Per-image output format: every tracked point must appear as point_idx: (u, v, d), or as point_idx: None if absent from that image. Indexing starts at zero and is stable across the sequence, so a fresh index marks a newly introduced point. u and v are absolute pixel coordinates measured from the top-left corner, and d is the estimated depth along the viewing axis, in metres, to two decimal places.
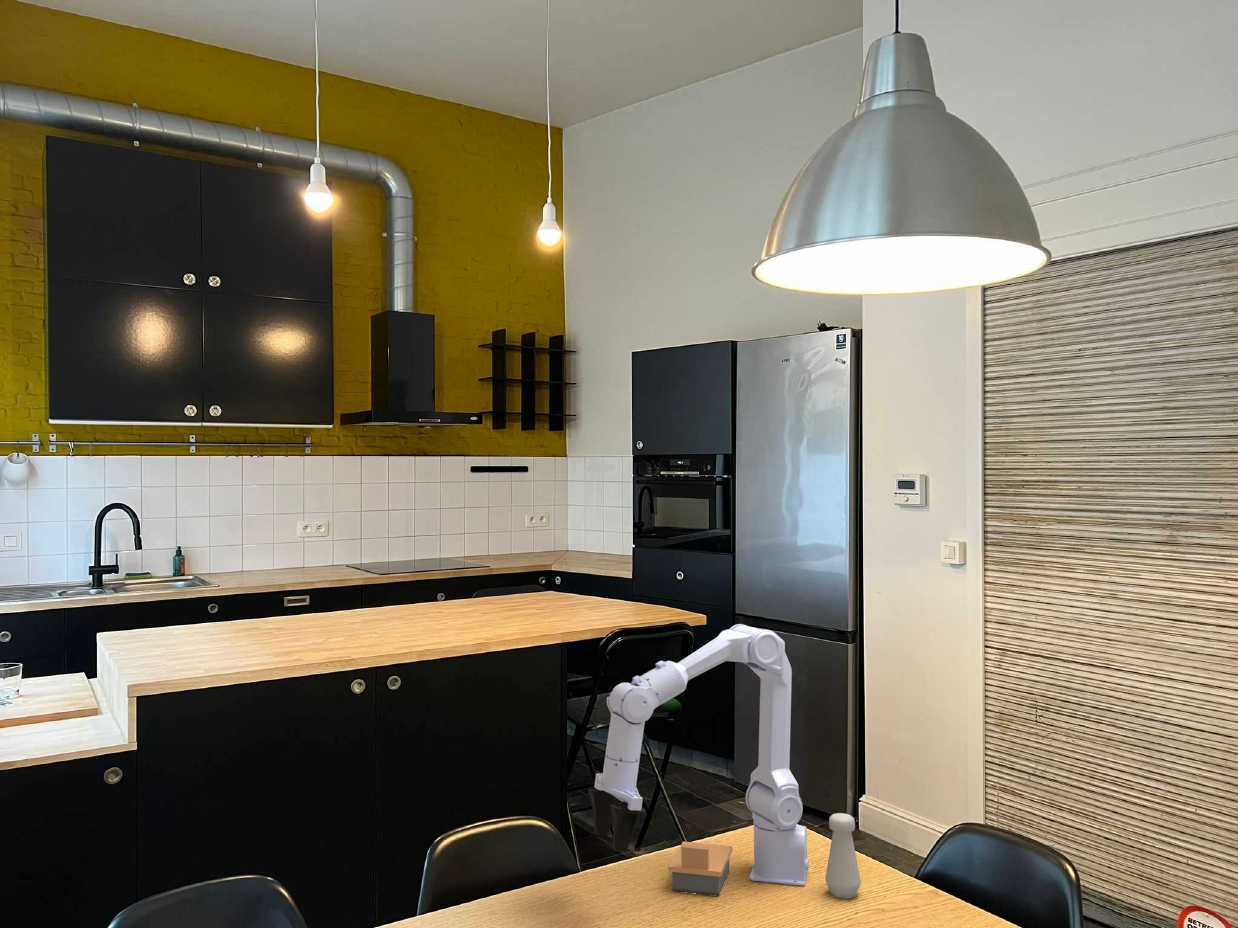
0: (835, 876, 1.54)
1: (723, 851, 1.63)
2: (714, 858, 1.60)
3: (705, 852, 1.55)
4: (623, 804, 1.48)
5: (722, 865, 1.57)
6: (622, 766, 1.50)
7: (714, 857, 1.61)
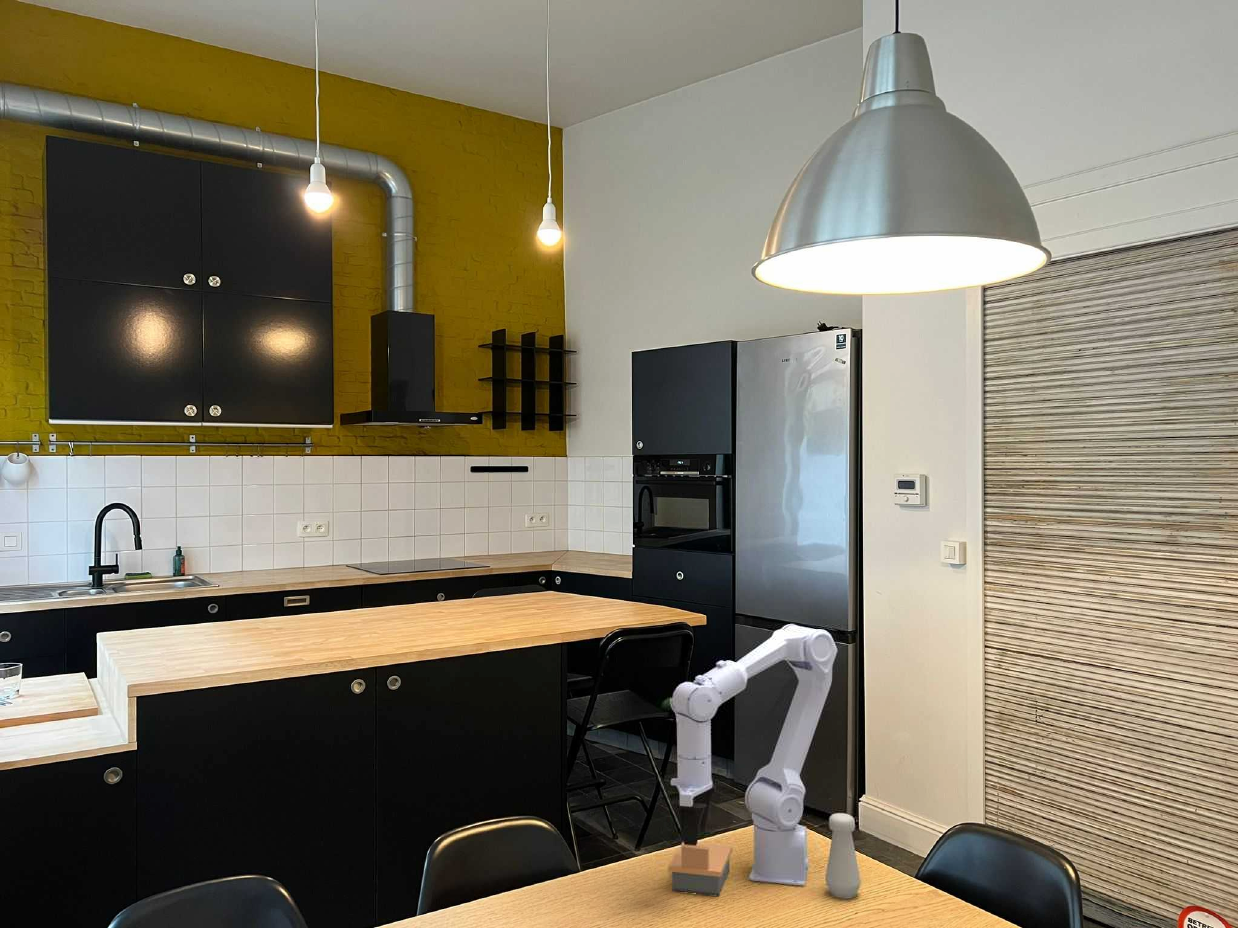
0: (835, 876, 1.54)
1: (723, 851, 1.63)
2: (714, 858, 1.60)
3: (705, 852, 1.55)
4: None
5: (722, 865, 1.57)
6: (684, 763, 1.55)
7: (714, 857, 1.61)
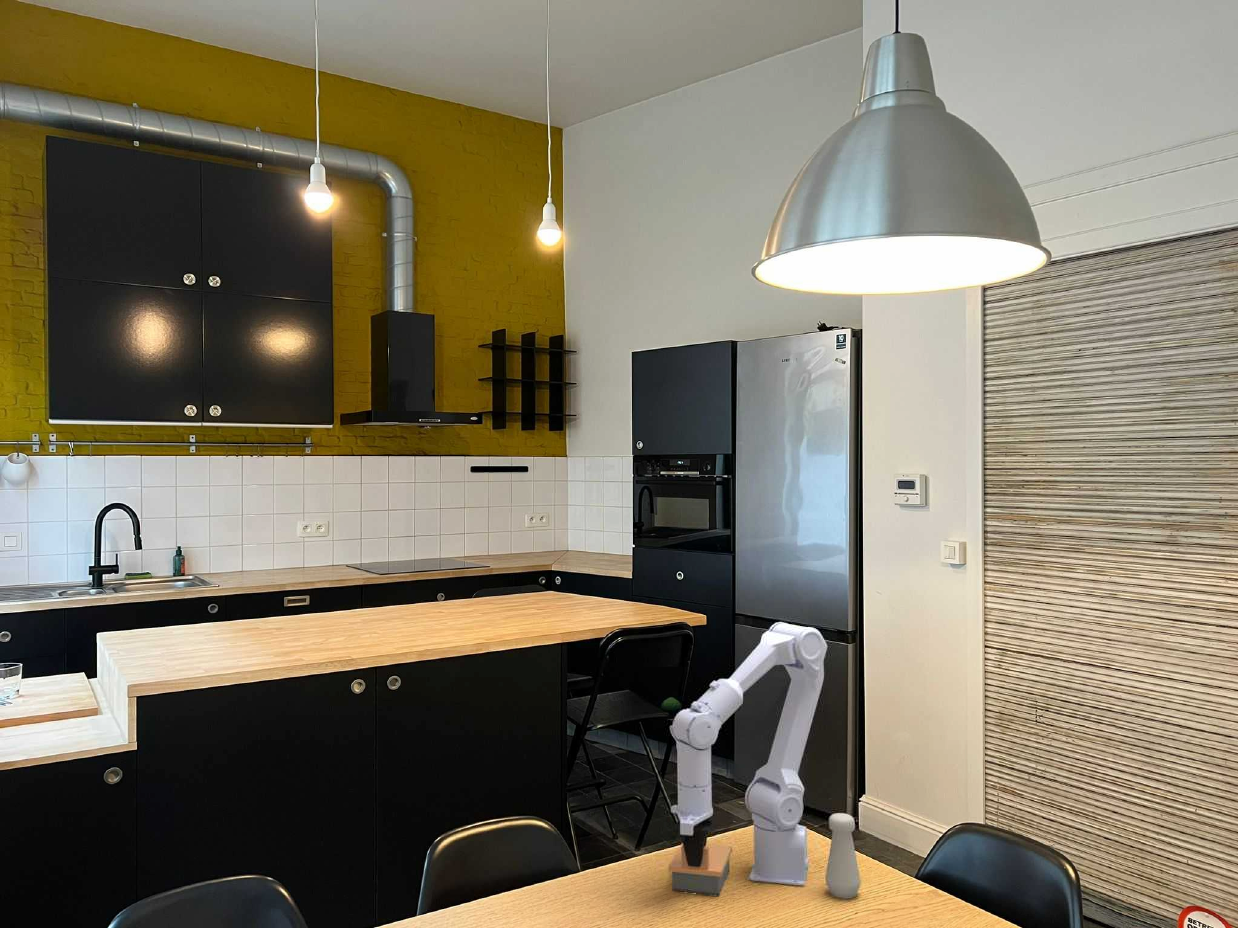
0: (835, 876, 1.54)
1: (723, 851, 1.63)
2: (714, 858, 1.60)
3: (705, 852, 1.55)
4: None
5: (722, 865, 1.57)
6: (685, 791, 1.55)
7: (714, 857, 1.61)
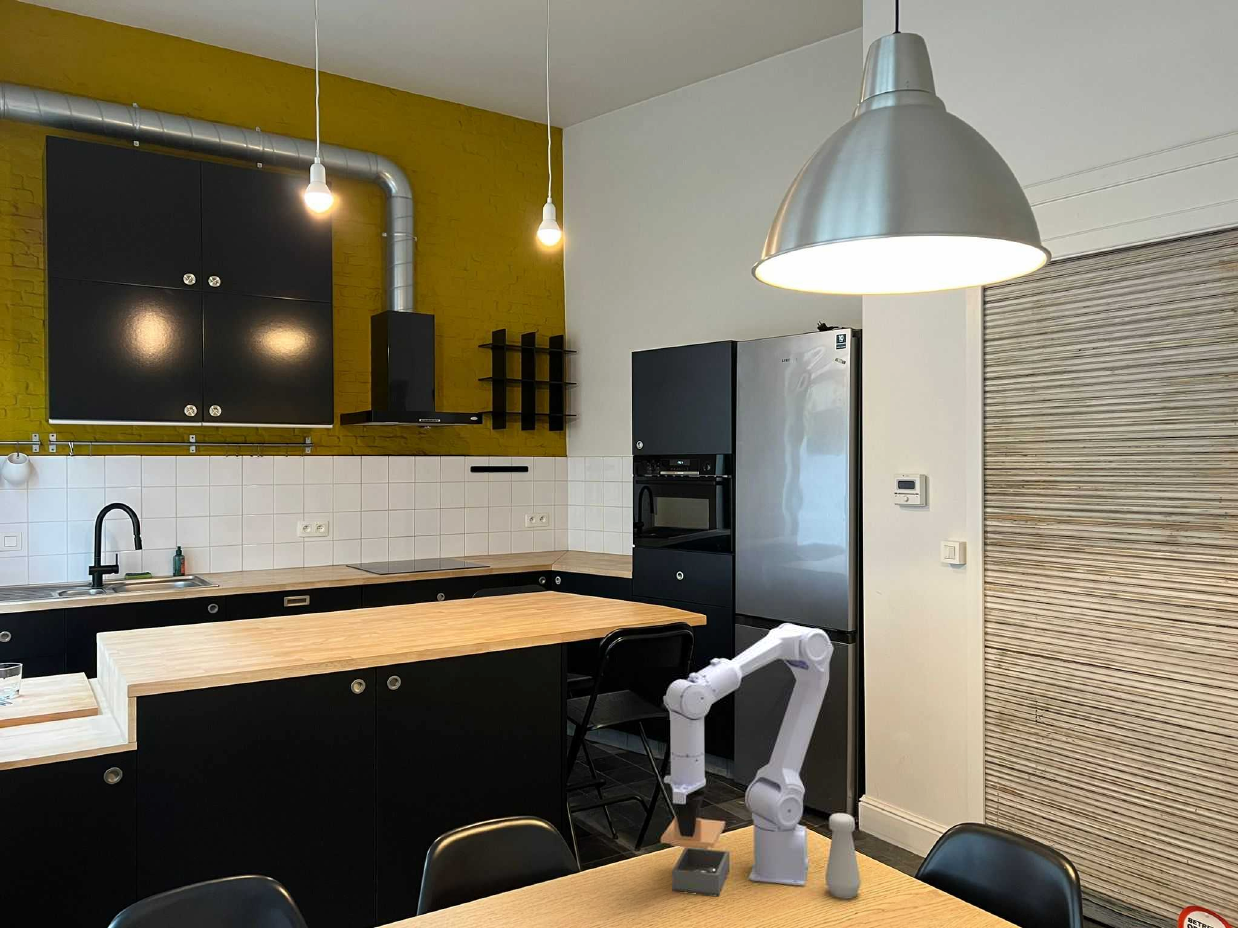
0: (835, 876, 1.54)
1: (716, 825, 1.63)
2: (707, 831, 1.60)
3: (698, 823, 1.55)
4: None
5: (714, 837, 1.57)
6: (678, 760, 1.55)
7: (707, 830, 1.61)
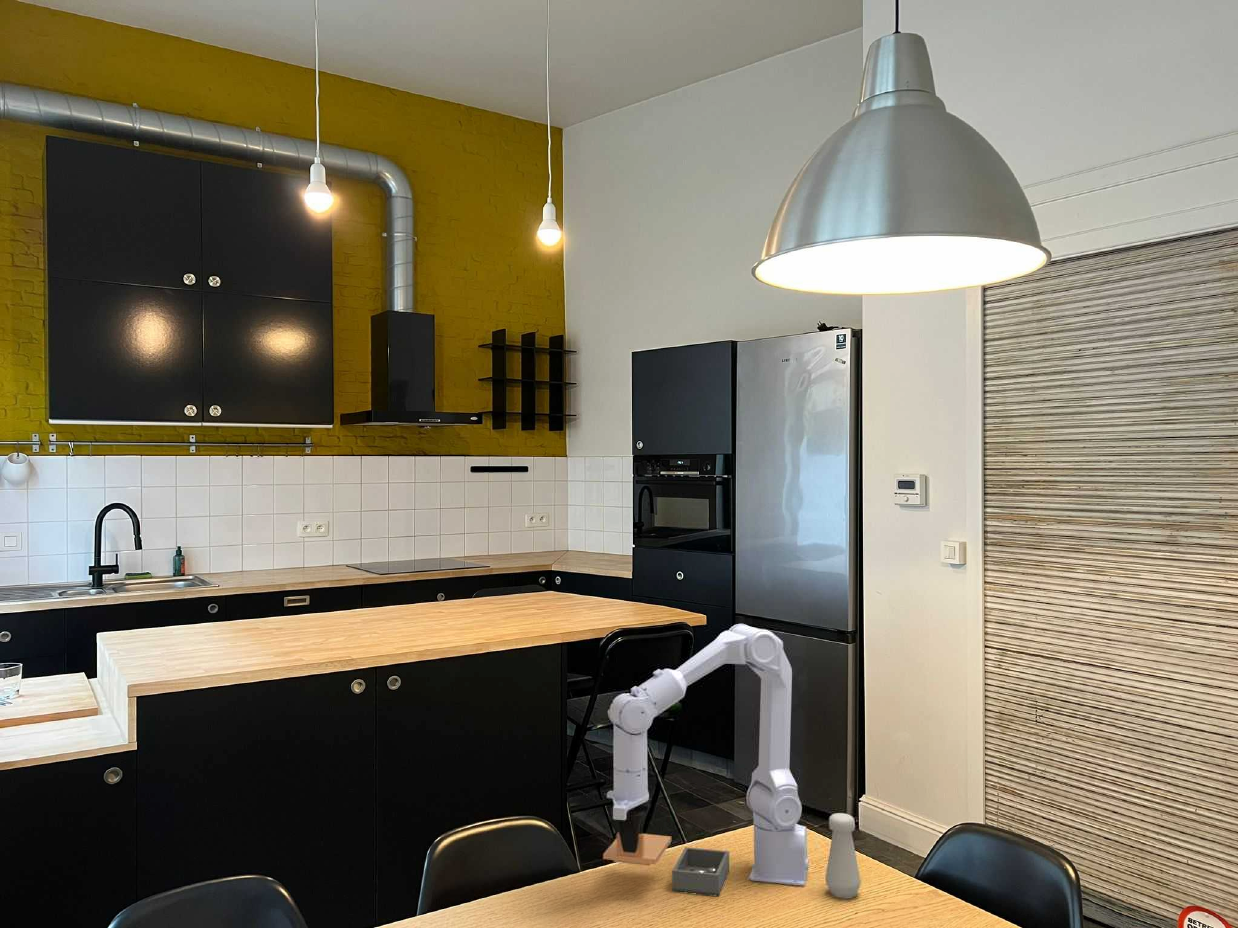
0: (835, 876, 1.54)
1: (661, 841, 1.62)
2: (651, 847, 1.59)
3: (640, 839, 1.54)
4: None
5: (658, 853, 1.56)
6: (620, 776, 1.53)
7: (651, 846, 1.59)
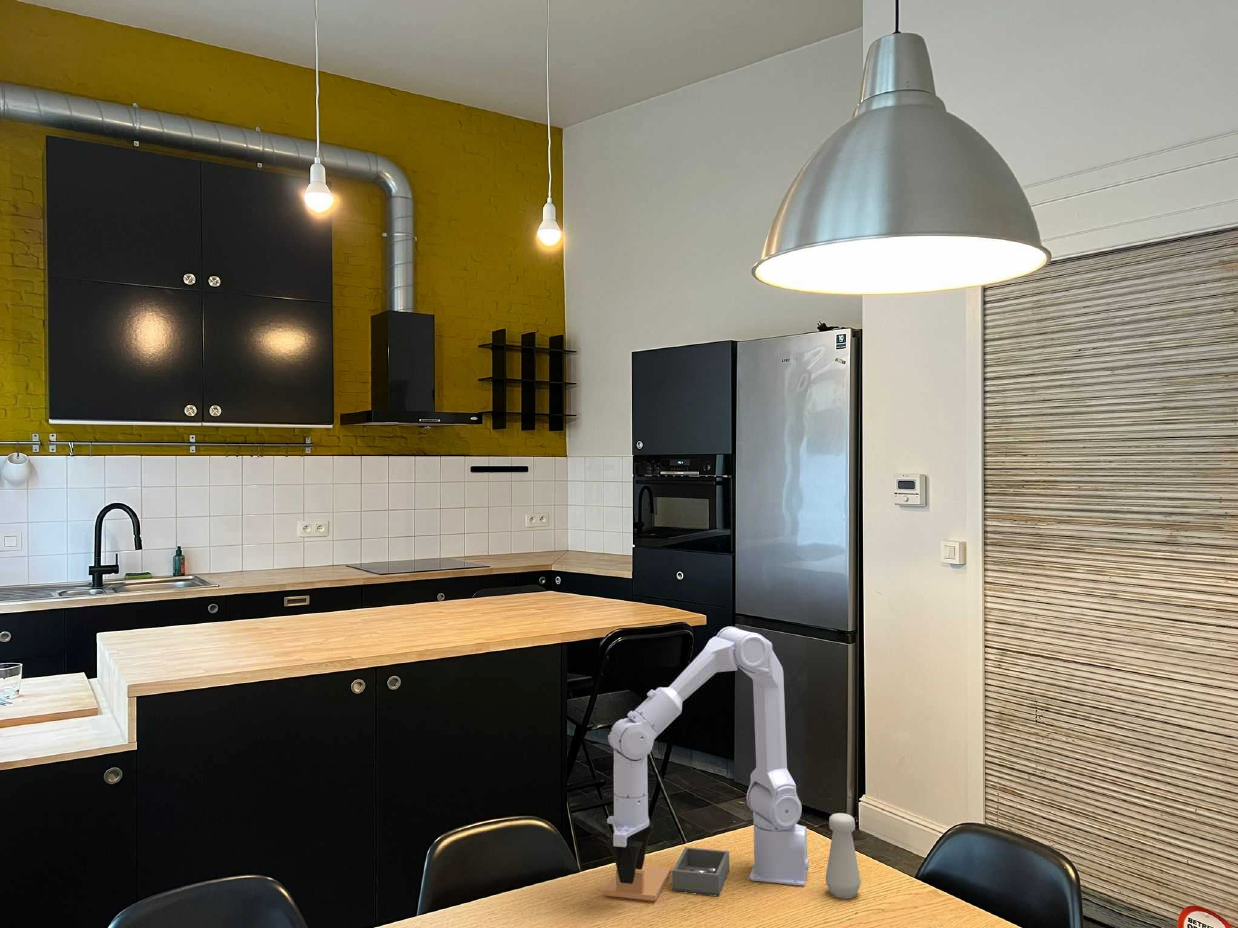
0: (835, 876, 1.54)
1: (661, 873, 1.61)
2: (651, 881, 1.58)
3: (639, 876, 1.53)
4: None
5: (657, 888, 1.55)
6: (620, 801, 1.53)
7: (651, 880, 1.59)
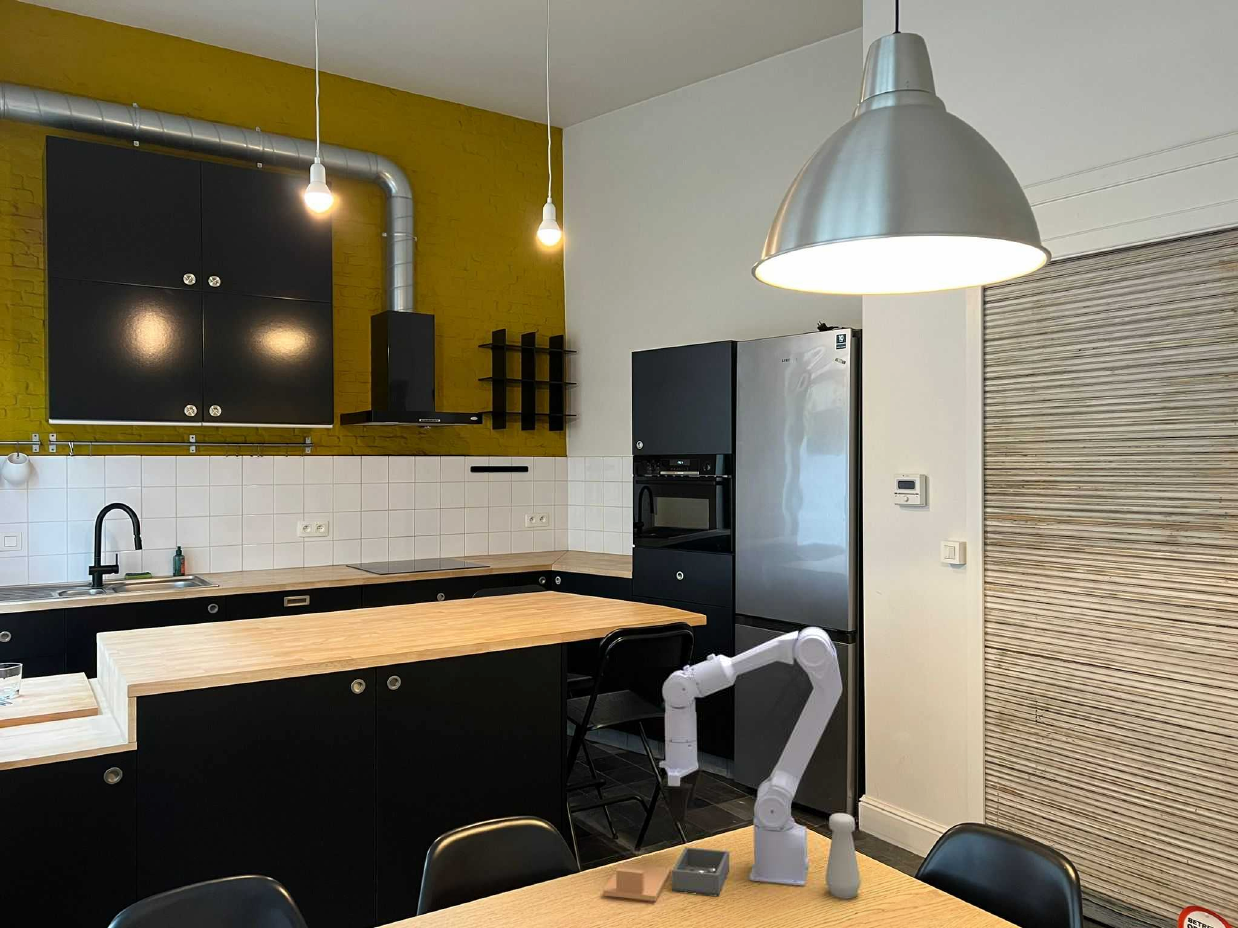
0: (835, 876, 1.54)
1: (661, 873, 1.61)
2: (651, 881, 1.58)
3: (640, 876, 1.53)
4: None
5: (658, 889, 1.55)
6: (672, 746, 1.66)
7: (651, 880, 1.58)
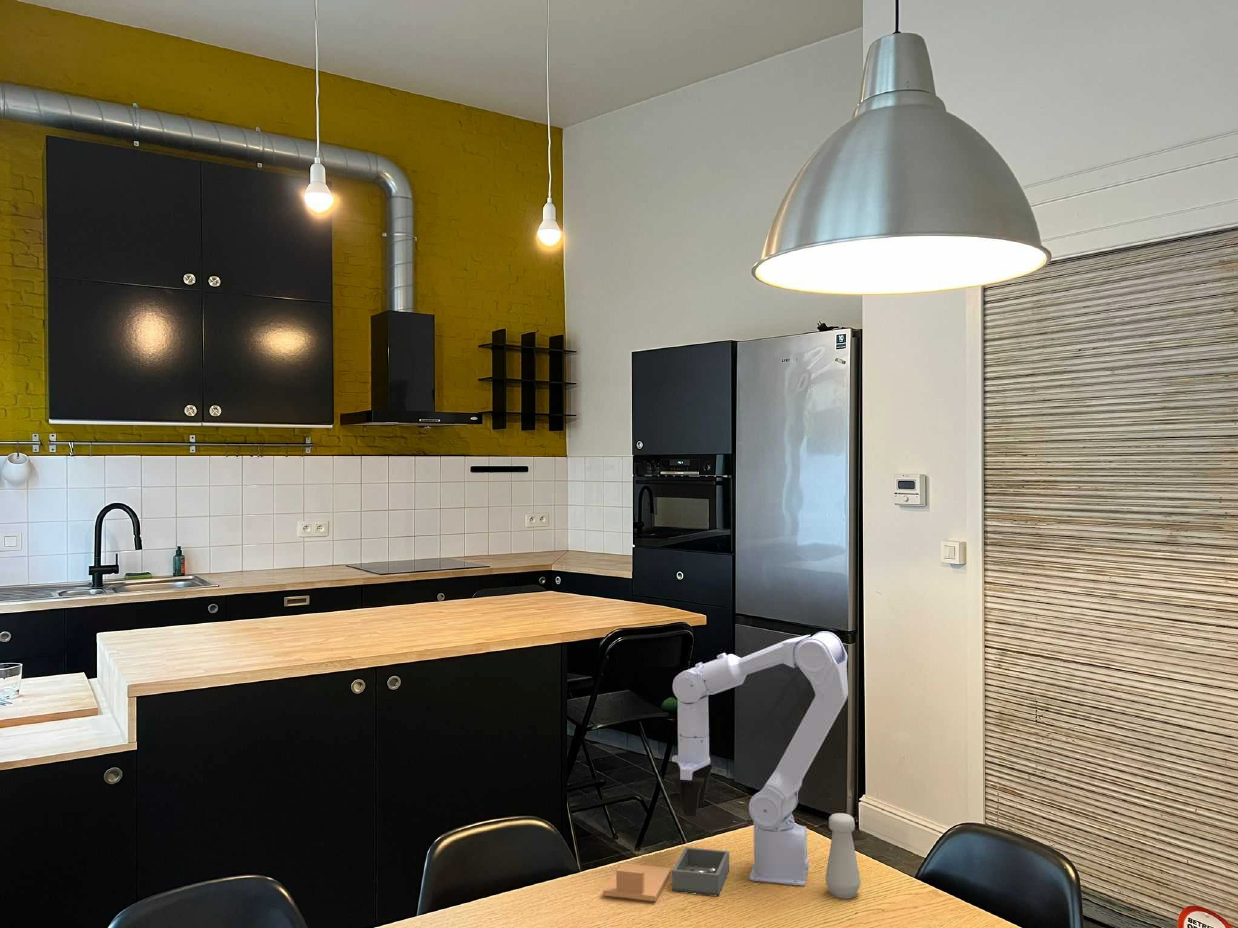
0: (835, 876, 1.54)
1: (661, 874, 1.61)
2: (651, 881, 1.58)
3: (640, 876, 1.53)
4: None
5: (658, 889, 1.55)
6: (684, 741, 1.69)
7: (651, 880, 1.58)
